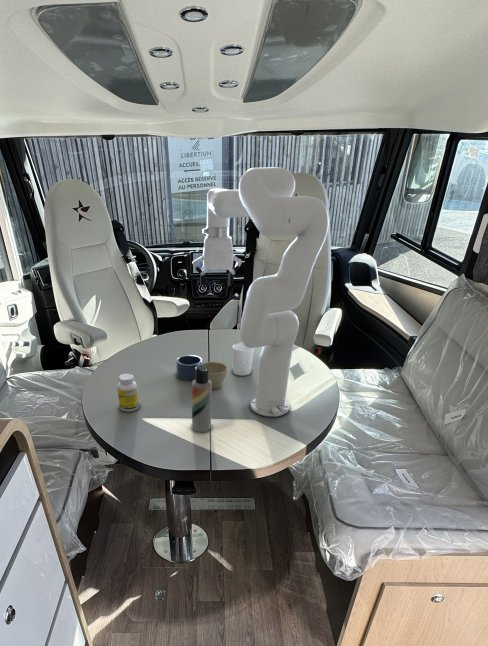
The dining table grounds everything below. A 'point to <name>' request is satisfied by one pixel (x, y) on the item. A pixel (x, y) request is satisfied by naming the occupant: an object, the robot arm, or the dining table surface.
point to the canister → (187, 366)
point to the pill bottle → (127, 393)
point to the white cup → (242, 359)
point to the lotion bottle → (201, 399)
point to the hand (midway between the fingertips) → (216, 286)
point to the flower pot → (216, 373)
